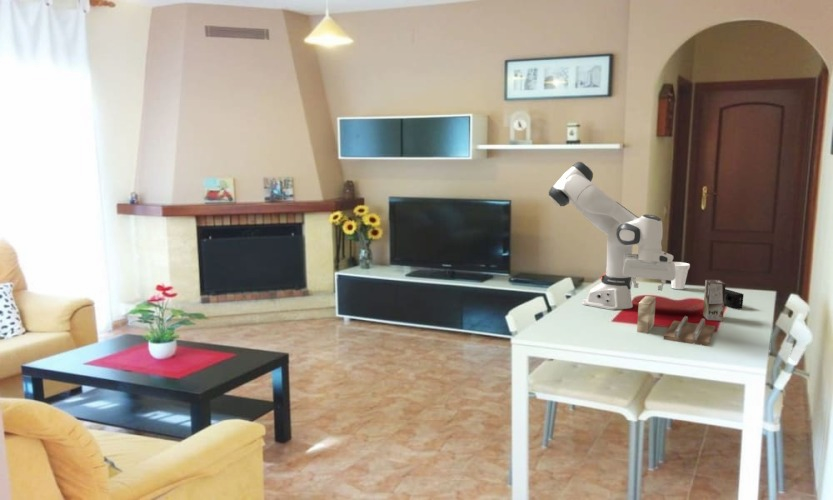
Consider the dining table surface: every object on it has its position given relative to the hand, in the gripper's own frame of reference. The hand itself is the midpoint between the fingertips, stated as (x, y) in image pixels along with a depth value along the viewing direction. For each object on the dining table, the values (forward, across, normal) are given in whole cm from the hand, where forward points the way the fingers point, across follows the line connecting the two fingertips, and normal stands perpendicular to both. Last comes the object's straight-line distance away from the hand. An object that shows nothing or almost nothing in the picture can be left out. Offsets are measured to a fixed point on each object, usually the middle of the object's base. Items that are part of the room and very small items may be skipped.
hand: (647, 288), depth 269 cm
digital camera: (+17, +26, +57) cm, 65 cm away
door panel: (+17, 0, 0) cm, 17 cm away
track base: (+17, +17, 0) cm, 24 cm away
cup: (+17, -1, +82) cm, 84 cm away
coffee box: (+17, +22, +31) cm, 42 cm away
